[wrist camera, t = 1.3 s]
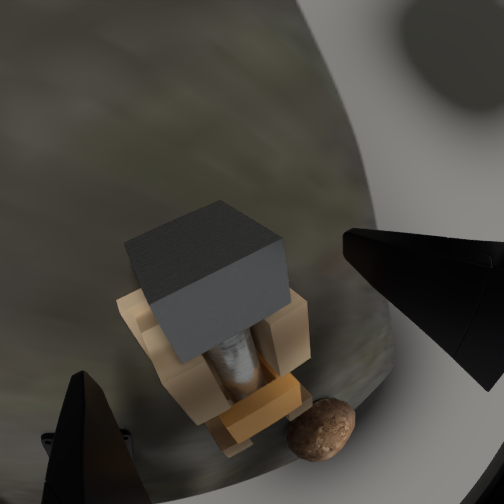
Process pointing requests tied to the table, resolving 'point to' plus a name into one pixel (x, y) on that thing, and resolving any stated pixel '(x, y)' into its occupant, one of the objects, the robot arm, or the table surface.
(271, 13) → the table surface
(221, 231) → the shaft
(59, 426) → the robot arm
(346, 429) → the mushroom
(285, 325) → the bearing block
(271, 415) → the block
